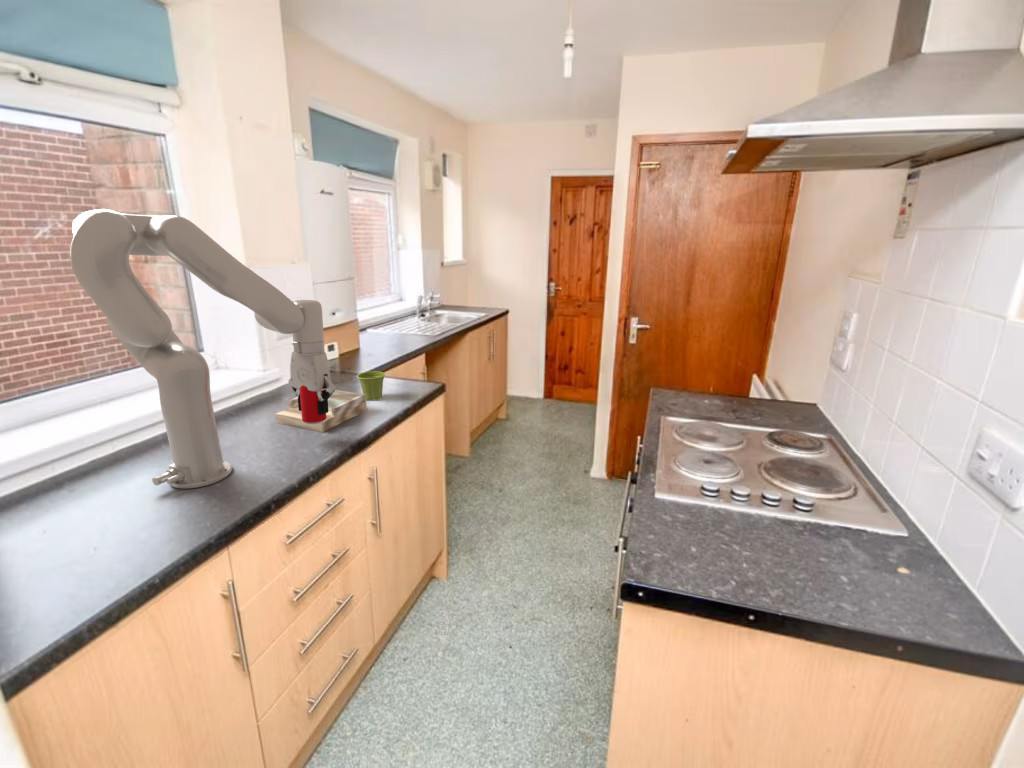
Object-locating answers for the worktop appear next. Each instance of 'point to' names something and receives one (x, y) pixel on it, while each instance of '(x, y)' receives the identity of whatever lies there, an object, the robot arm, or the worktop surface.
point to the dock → (339, 411)
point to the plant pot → (372, 384)
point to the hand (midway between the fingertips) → (313, 410)
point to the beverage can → (310, 406)
